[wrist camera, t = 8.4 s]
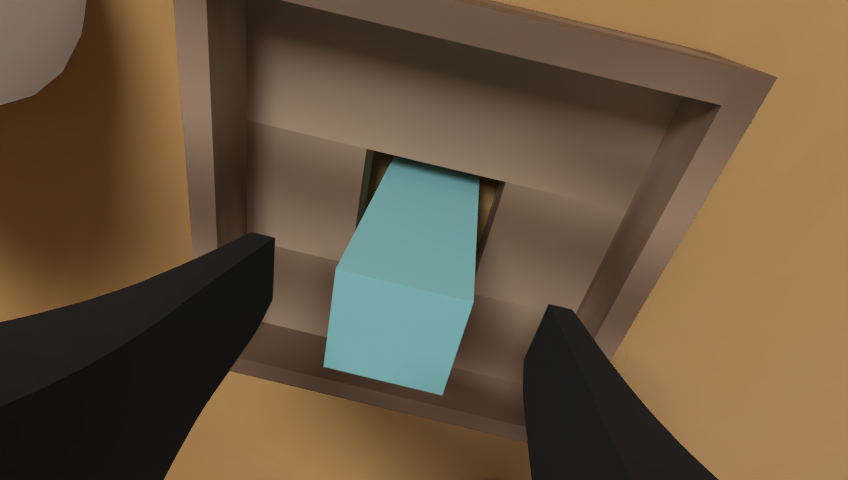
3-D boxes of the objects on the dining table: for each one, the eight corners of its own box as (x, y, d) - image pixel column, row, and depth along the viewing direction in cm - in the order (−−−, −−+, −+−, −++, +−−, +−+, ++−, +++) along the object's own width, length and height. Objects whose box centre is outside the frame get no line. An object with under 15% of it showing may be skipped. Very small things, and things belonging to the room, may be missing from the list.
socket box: (547, 377, 20) (557, 449, 17) (245, 305, 20) (201, 364, 17) (710, 52, 13) (777, 77, 10) (242, -59, 13) (167, -68, 10)
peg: (458, 247, 17) (442, 395, 11) (381, 229, 17) (323, 366, 11) (479, 175, 16) (473, 302, 10) (394, 155, 16) (335, 268, 10)
